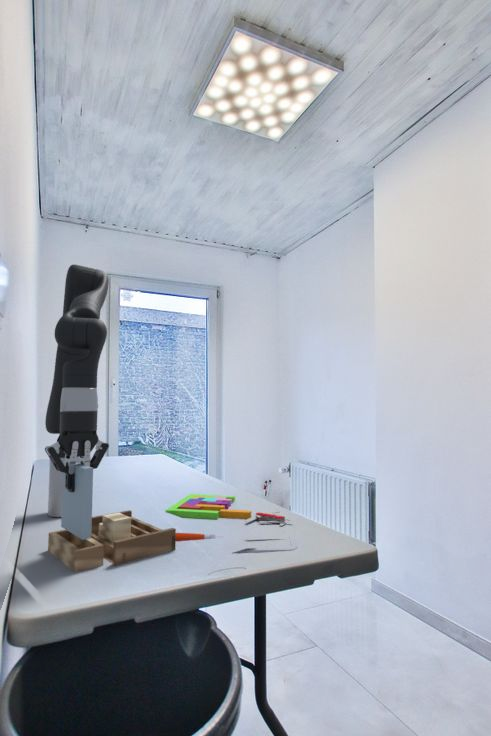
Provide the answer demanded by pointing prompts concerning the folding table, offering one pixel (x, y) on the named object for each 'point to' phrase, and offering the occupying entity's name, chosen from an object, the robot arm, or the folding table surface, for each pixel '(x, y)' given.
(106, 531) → the offcut mid
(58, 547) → the stand
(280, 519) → the swiss army knife
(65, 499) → the panel
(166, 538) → the rack
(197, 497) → the toy blocks
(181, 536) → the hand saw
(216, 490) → the folding table surface
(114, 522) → the offcut short
